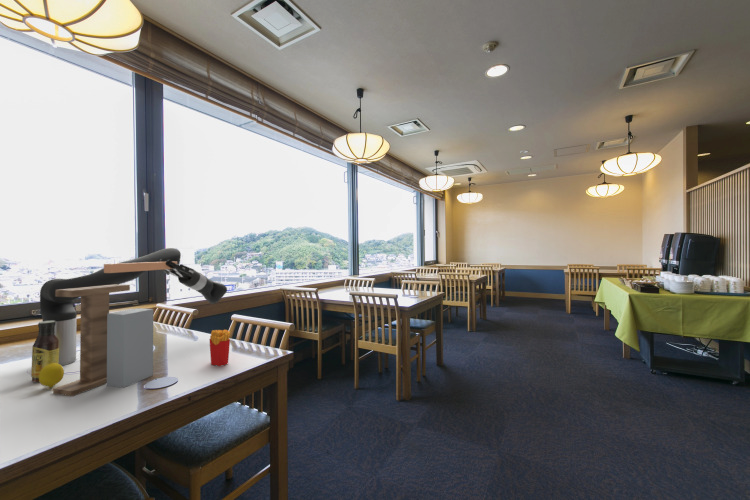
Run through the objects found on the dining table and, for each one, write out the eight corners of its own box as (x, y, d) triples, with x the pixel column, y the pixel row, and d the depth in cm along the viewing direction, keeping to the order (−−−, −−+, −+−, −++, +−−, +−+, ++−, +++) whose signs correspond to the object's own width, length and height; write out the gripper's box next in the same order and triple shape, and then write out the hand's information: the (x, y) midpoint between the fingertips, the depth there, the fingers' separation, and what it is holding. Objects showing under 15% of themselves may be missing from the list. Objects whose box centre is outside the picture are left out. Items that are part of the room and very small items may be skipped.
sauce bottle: (27, 381, 101) (28, 322, 101) (52, 374, 106) (53, 318, 107) (37, 384, 98) (37, 324, 98) (62, 377, 104) (63, 320, 104)
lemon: (47, 392, 93) (47, 366, 93) (33, 390, 94) (34, 365, 94) (68, 384, 98) (68, 360, 98) (55, 383, 99) (55, 358, 100)
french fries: (206, 363, 116) (207, 330, 117) (216, 360, 120) (216, 328, 121) (224, 367, 113) (224, 333, 113) (233, 363, 117) (233, 330, 117)
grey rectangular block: (106, 385, 97) (107, 313, 98) (137, 373, 107) (137, 308, 107) (123, 387, 96) (123, 314, 96) (152, 375, 106) (153, 309, 106)
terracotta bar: (103, 272, 101) (103, 264, 102) (171, 268, 127) (171, 261, 127) (110, 273, 101) (110, 264, 101) (177, 268, 126) (177, 261, 126)
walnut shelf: (53, 393, 92) (54, 289, 92) (112, 372, 108) (113, 284, 109) (72, 396, 90) (73, 290, 90) (130, 374, 107) (130, 284, 107)
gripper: (202, 287, 133) (173, 270, 118) (176, 286, 136) (144, 269, 121) (209, 272, 136) (181, 253, 122) (183, 271, 139) (153, 253, 125)
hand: (163, 261), depth 122 cm, fingers closed on terracotta bar, 3 cm apart
